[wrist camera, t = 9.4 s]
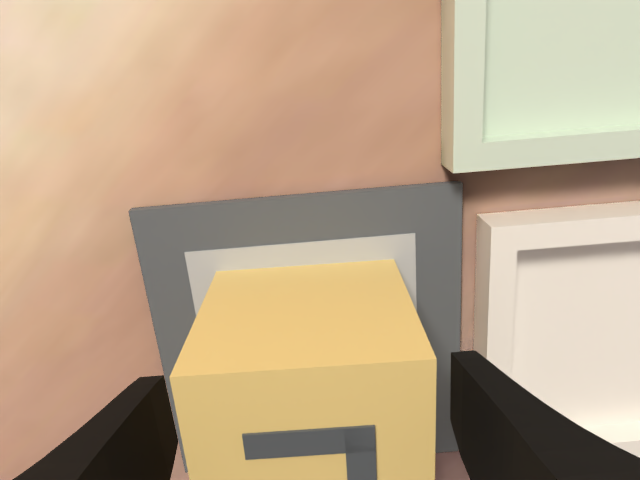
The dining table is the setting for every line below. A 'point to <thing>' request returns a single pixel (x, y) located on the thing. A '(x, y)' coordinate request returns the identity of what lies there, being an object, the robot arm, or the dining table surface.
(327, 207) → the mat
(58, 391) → the dining table surface
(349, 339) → the letter cube
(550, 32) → the dish green
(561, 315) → the dish white
